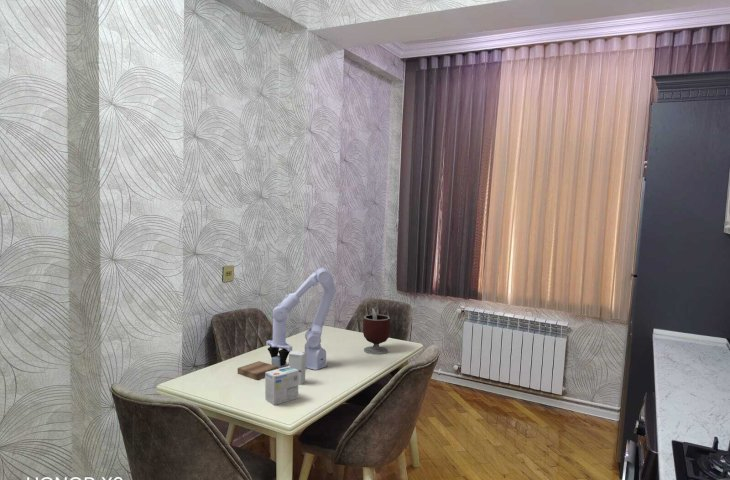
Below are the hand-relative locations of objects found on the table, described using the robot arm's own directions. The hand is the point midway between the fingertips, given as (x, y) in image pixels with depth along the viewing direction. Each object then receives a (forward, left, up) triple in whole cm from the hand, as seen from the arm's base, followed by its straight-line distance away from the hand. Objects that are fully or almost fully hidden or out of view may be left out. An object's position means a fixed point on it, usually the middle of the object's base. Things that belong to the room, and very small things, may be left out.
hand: (278, 364), depth 211 cm
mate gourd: (-18, -49, -2) cm, 52 cm away
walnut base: (+1, +11, -2) cm, 11 cm away
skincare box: (-19, +8, -2) cm, 21 cm away
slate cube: (0, 0, -2) cm, 2 cm away
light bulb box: (-27, +24, -2) cm, 36 cm away
